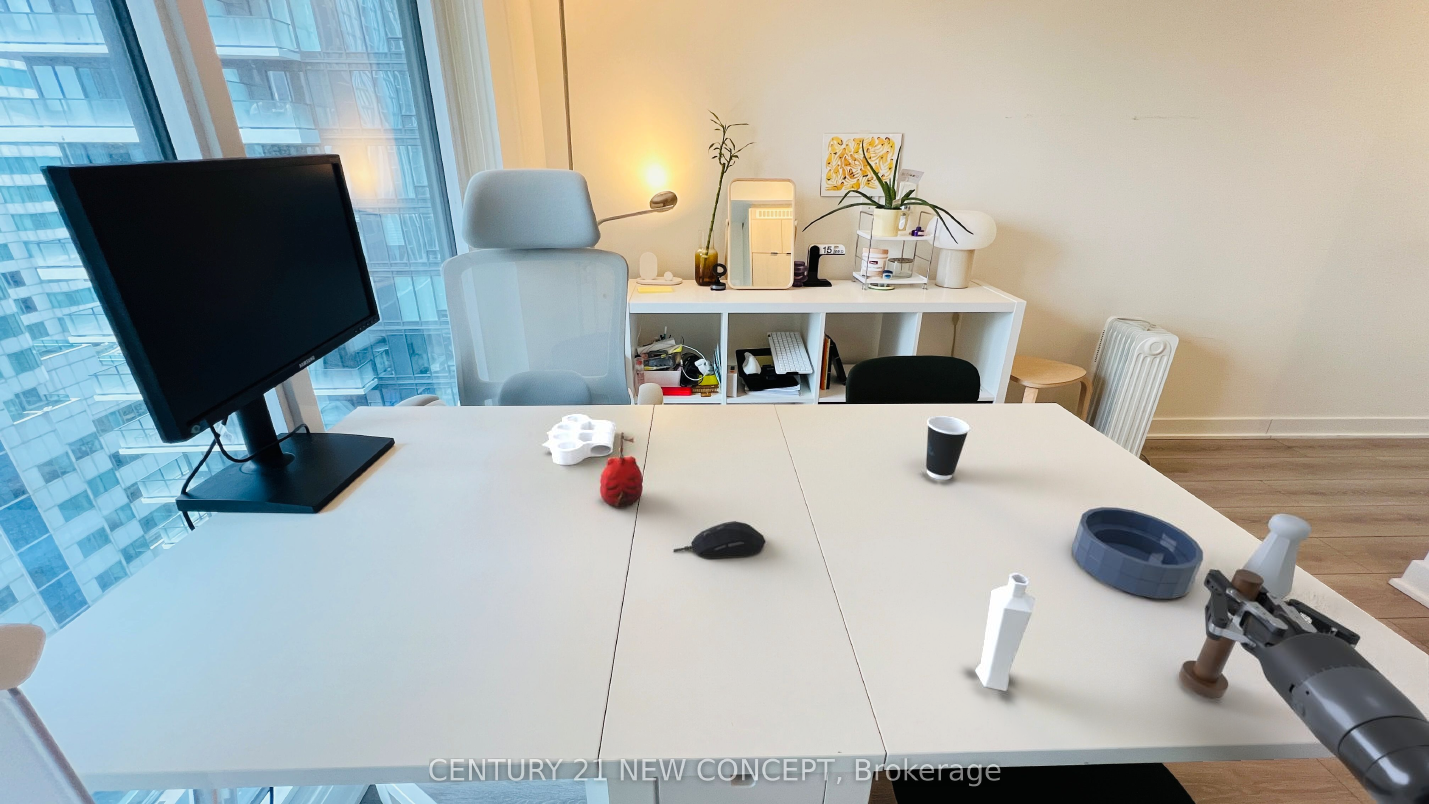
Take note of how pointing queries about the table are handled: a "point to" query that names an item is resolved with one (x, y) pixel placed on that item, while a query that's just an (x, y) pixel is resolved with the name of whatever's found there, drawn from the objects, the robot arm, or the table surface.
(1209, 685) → the pestle
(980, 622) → the table surface
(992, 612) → the perfume bottle
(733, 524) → the gaming mouse
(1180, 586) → the bowl
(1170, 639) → the table surface
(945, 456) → the dixie cup
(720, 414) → the table surface
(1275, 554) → the salt shaker
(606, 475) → the red clay folk toy
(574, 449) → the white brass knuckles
